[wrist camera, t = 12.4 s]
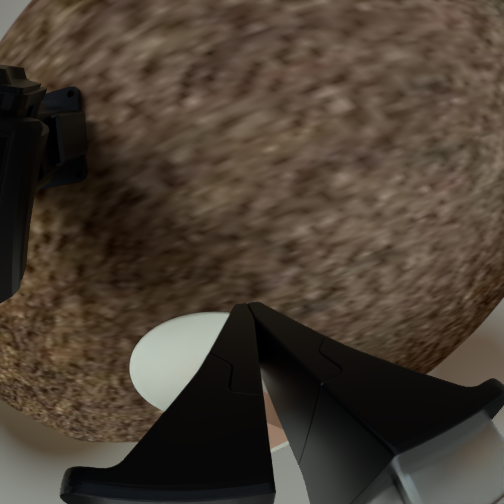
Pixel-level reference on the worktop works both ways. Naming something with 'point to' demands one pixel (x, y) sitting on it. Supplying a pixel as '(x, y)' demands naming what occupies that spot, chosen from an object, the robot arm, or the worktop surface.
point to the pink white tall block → (274, 426)
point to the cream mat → (173, 355)
